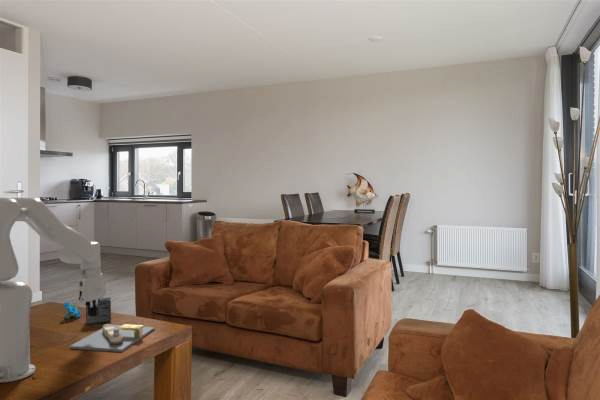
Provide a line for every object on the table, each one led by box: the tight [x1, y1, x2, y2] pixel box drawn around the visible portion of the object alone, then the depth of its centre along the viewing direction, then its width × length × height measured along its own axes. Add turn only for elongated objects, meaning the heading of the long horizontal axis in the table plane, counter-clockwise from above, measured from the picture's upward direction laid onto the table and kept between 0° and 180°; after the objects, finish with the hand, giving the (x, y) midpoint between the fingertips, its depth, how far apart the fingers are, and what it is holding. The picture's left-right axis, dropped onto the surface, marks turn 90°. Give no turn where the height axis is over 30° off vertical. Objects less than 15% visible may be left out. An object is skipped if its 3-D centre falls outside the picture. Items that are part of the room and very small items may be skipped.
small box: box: [85, 297, 112, 326], centre depth 200 cm, size 11×6×10 cm, turn 113°
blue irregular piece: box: [63, 301, 82, 319], centre depth 206 cm, size 11×6×10 cm
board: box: [69, 324, 156, 353], centre depth 179 cm, size 26×22×1 cm
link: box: [102, 323, 123, 344], centre depth 177 cm, size 20×5×5 cm, turn 37°
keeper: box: [119, 323, 145, 338], centre depth 178 cm, size 4×9×4 cm, turn 82°
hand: (92, 315), depth 177 cm, fingers closed
